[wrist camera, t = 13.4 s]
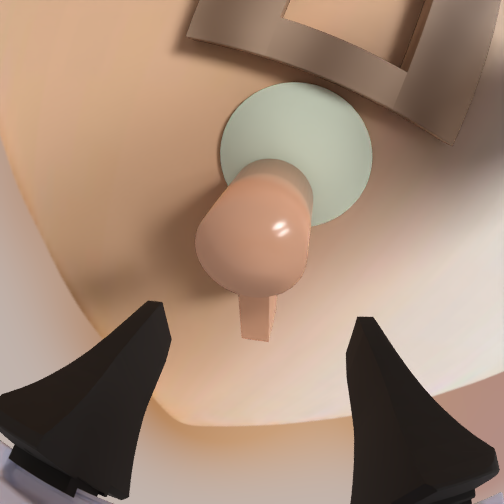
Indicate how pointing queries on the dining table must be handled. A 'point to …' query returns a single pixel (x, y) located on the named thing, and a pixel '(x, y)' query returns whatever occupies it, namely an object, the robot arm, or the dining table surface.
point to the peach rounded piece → (258, 239)
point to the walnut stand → (370, 55)
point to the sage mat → (303, 142)
